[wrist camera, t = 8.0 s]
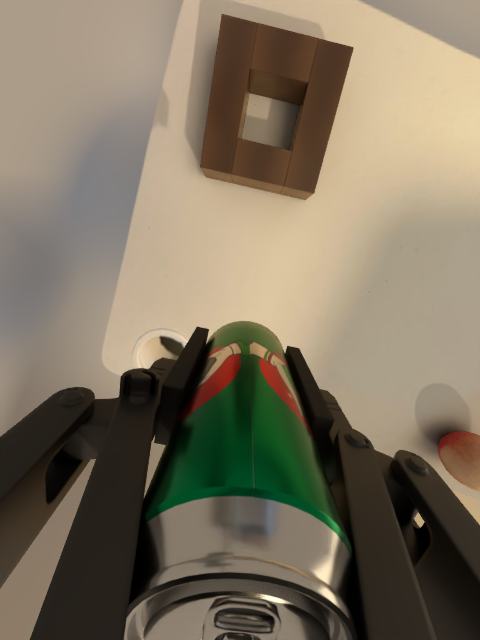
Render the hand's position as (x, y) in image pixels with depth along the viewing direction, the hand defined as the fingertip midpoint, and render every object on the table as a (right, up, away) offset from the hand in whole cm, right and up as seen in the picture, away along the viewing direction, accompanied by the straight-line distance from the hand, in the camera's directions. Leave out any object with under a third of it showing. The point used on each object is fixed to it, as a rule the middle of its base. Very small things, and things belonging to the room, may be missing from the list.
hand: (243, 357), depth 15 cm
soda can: (0, 0, +1) cm, 0 cm away
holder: (+3, +25, +13) cm, 29 cm away
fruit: (+36, -18, +25) cm, 47 cm away
